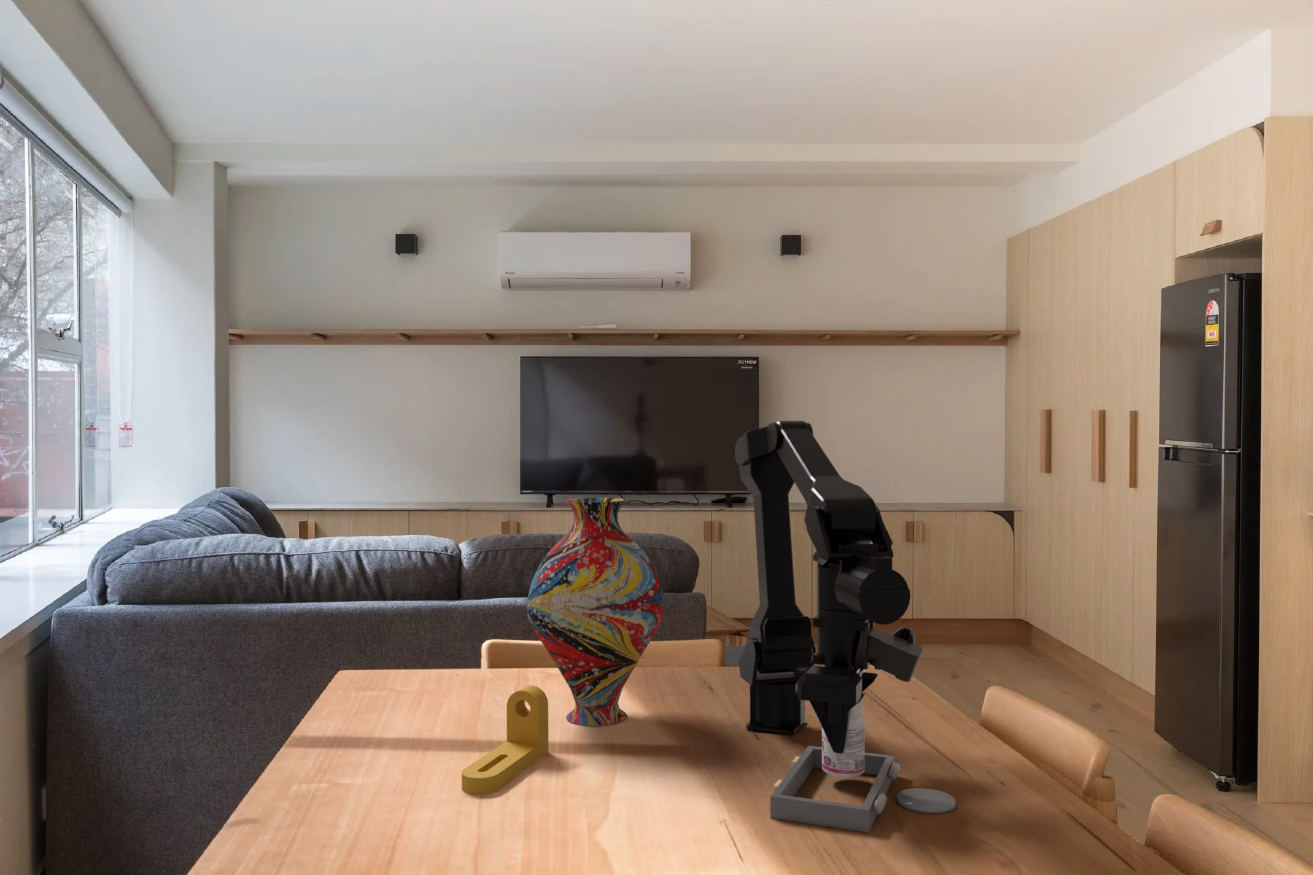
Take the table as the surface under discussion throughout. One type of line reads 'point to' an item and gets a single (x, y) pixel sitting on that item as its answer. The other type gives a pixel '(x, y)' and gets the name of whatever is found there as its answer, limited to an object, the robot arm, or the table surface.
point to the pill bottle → (847, 749)
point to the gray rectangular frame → (831, 812)
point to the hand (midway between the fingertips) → (843, 745)
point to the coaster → (926, 800)
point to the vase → (596, 608)
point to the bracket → (512, 744)
